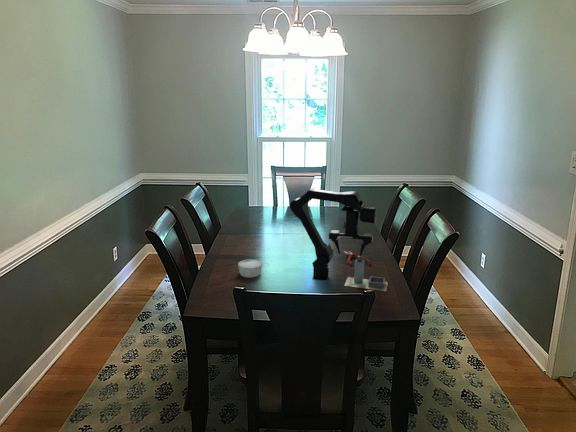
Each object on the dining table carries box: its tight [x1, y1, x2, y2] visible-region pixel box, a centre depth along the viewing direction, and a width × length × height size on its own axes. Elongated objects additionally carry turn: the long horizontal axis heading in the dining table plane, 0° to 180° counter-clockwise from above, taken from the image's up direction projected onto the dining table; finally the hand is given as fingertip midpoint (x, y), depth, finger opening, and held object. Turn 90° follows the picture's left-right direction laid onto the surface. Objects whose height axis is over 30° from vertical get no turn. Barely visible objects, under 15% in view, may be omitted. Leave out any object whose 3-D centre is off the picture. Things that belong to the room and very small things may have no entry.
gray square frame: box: [368, 275, 386, 289], centre depth 201 cm, size 7×7×2 cm
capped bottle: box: [353, 255, 365, 284], centre depth 202 cm, size 4×4×12 cm
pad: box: [351, 279, 365, 286], centre depth 204 cm, size 6×6×1 cm
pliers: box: [343, 250, 372, 267], centre depth 233 cm, size 12×20×3 cm, turn 15°
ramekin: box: [237, 259, 263, 279], centre depth 212 cm, size 11×11×5 cm
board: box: [344, 276, 389, 292], centre depth 203 cm, size 18×10×1 cm, turn 74°
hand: (350, 255), depth 202 cm, fingers open, 9 cm apart
